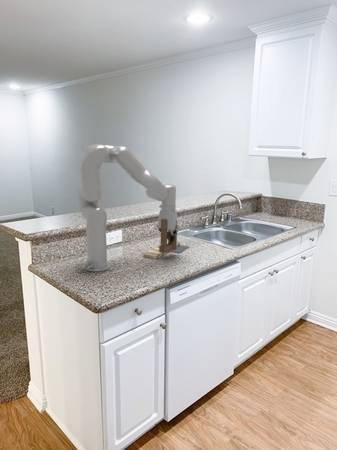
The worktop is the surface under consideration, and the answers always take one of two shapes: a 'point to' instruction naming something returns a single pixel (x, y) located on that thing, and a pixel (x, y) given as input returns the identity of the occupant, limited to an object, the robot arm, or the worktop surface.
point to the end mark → (180, 249)
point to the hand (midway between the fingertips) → (167, 240)
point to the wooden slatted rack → (156, 253)
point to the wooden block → (164, 236)
